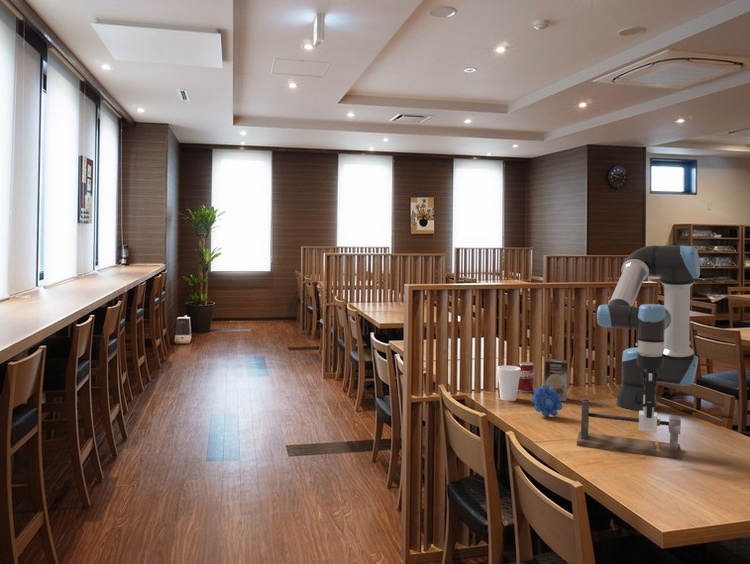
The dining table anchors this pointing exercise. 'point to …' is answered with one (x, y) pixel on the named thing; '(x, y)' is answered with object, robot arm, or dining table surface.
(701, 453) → the dining table surface
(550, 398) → the blue knobbed wheel
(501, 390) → the foam cup
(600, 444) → the sliding block rail
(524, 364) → the soda can
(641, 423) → the sleeve
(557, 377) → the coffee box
